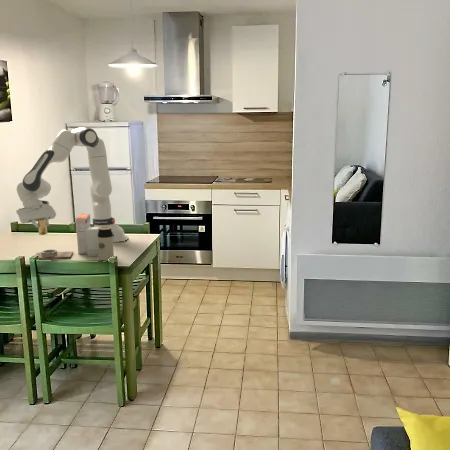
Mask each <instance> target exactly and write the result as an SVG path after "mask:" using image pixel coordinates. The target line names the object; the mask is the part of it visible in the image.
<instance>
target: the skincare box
mask: <svg viewBox="0 0 450 450" xmlns="http://www.w3.org/2000/svg"><path fill="white" fill-rule="evenodd" d="M98 232H99V230H98V227H93V226H91V227H88V228H87V229H86V240H87V251H88V254H87V257H91V256H92V257H93V256H94V257H95V256H96V257H97V256H98V257H99V249H98Z"/></svg>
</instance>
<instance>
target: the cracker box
mask: <svg viewBox="0 0 450 450" xmlns="http://www.w3.org/2000/svg"><path fill="white" fill-rule="evenodd" d="M75 227H76V228H75V229H76V230H75V231H76V240H77V250H78V251H77V253H78V254H77V255H85V254H86V255H88V251H87V240H86V229H87V228H88V227H92V226H91V214H90V213H79V215H78V216H77V217H76V218H75Z"/></svg>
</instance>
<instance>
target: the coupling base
mask: <svg viewBox="0 0 450 450" xmlns="http://www.w3.org/2000/svg"><path fill="white" fill-rule="evenodd" d="M73 254H74V251H58V250H57V249H44V250H41V252H36V253H35V254H34V255H38V256H39V259H49V260H71V258H72V256H74V255H73Z"/></svg>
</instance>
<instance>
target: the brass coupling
mask: <svg viewBox="0 0 450 450" xmlns="http://www.w3.org/2000/svg"><path fill="white" fill-rule="evenodd" d="M37 223H39V225H40V226H39V227H38V234H39V235H40V236H44V235H48V226H47V224H46V219H40V220H38V221H37Z"/></svg>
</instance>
